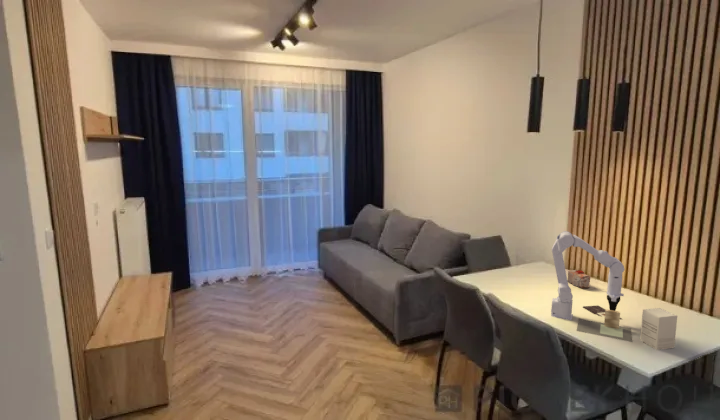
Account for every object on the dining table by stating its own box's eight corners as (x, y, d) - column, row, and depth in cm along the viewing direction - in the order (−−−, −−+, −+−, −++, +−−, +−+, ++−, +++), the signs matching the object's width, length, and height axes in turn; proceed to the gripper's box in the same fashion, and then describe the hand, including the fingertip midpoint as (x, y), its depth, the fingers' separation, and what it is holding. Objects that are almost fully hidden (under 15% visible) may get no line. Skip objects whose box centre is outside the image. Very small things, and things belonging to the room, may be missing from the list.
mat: (576, 331, 189) (576, 330, 189) (578, 319, 203) (578, 318, 203) (632, 343, 178) (632, 341, 178) (631, 329, 191) (631, 328, 191)
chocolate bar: (598, 305, 219) (623, 319, 201) (598, 307, 219) (622, 321, 201) (582, 306, 218) (606, 320, 200) (582, 308, 218) (606, 322, 200)
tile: (604, 326, 194) (605, 310, 192) (604, 324, 195) (605, 309, 194) (618, 329, 190) (620, 313, 189) (618, 327, 192) (620, 311, 191)
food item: (591, 288, 246) (593, 273, 245) (580, 289, 245) (581, 274, 243) (575, 281, 260) (576, 266, 258) (565, 282, 258) (566, 267, 256)
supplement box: (656, 338, 181) (659, 307, 179) (674, 348, 173) (678, 315, 170) (639, 340, 180) (642, 308, 178) (656, 350, 171) (659, 317, 169)
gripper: (624, 290, 187) (622, 317, 189) (624, 281, 199) (621, 307, 201) (607, 287, 191) (604, 314, 193) (607, 279, 203) (605, 304, 205)
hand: (612, 310), depth 197 cm, fingers closed
